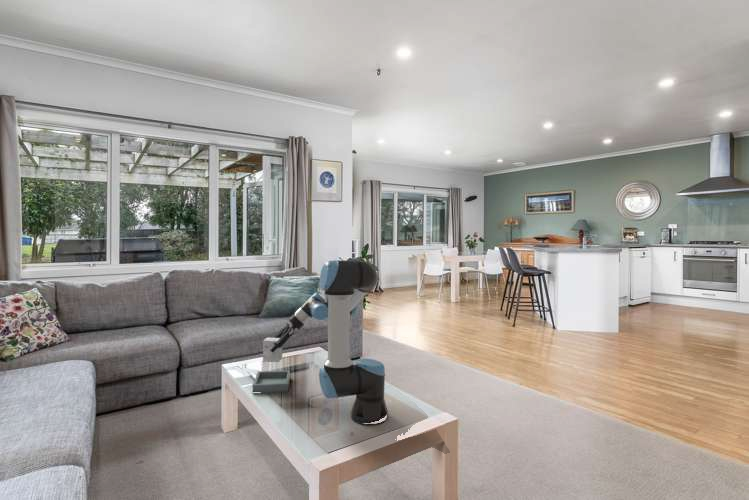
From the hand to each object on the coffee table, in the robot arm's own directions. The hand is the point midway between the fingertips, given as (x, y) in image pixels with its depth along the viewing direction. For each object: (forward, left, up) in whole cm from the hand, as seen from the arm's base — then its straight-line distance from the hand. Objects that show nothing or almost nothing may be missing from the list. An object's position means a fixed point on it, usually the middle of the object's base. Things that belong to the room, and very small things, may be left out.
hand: (265, 353), depth 191 cm
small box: (+1, -3, -4) cm, 5 cm away
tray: (0, -3, -16) cm, 17 cm away
